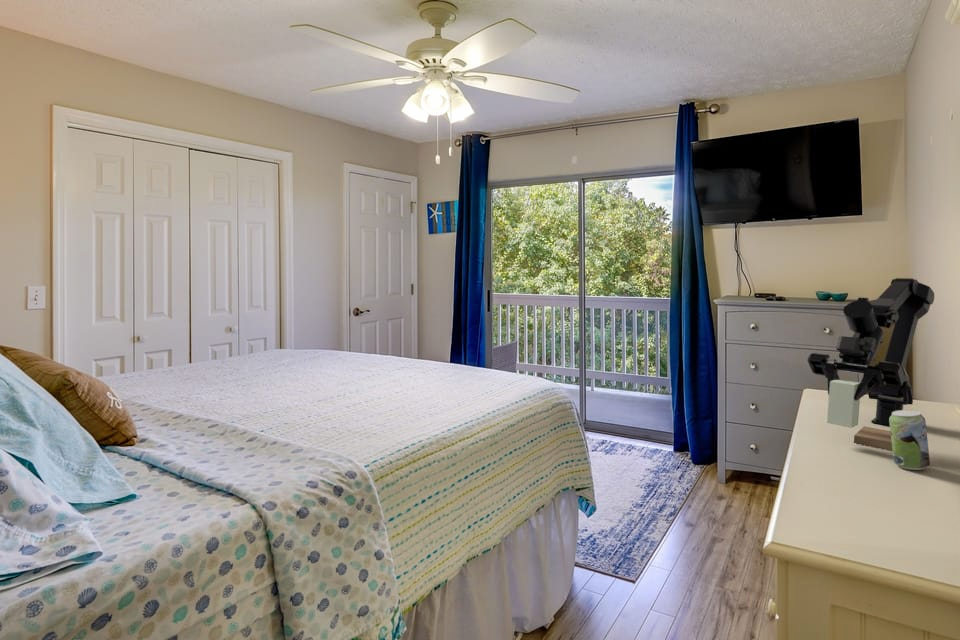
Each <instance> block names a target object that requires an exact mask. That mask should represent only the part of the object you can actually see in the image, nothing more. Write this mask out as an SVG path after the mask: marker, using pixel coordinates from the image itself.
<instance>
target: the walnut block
mask: <svg viewBox="0 0 960 640" xmlns="http://www.w3.org/2000/svg"><path fill="white" fill-rule="evenodd" d="M854 443H856V444H855V445H859V444H861V445H860V446H864V445H865V446H864V447H869V446H871V447H870V448H876V449H879V448H881V449H880V450H884V449H886V451H889V450H891V451H890V452H893V450H892V441H891V432H890V430H886V429H880V428H876V427H875V428H874V427H869V426H865V425H864V426H862V428H860V429H859V430H858V431H857V432H856V433H854V437H853V444H854Z"/></svg>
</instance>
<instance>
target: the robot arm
mask: <svg viewBox="0 0 960 640" xmlns="http://www.w3.org/2000/svg"><path fill="white" fill-rule="evenodd" d="M934 301H935V292H934V290H933V289H932V288H931V287H930V286H929V285H926V284H924V283H922V282H919V281H918V280H917V279H916V278H910V277H896V278H893V279H892V280H891V282H890V285H889V286H888V287H887V288H886V289H885V290H884V291H883V292H882V293H881V295H879V296H878V297H877V298H876V299H873V300H872V299H871V300H869V298H868V297H858V298H857V299H856V300H853V301H852V302H849V303H848V304H846V305H845V306H844V307H843V309H842V311H843V312H842V313H843V314H844V316H845V317H844V318H845V320H846V321H847V322H846V323H847V324H848V327H849V330H850V331H852V332H853V334H852V336H844V335H840V336H838V340H837V344H836V348H835V349H836V350H837V351H838V352H839V354H838V357H839V359H841V361H840V360H837V359H835V358H830V355H829V354H826V353H819V352H812V353H810V354H809V355H808V358H807V363H808V365H809V367H810V369H811V372H812V373H813V374H814V375H818V376H819V375H820V376H824V378H826V379H827V394H828V396H829V388H830V381H833V380H836V379H839V380H840V375H839V371H842V372H846V373H853V374H859V375H863V376H862V378H861V380H860V382H859V383H860V384H859V386H858V388H857V390H856V393H855V396H854V400H856V401H857V400H858V399H861V398H862V397H864V396H865V395H866V394H868V399H869V400H876V406H875V407H876V409H875V417H874V418H873V419H872V420H870V422H871V423H873V424H878V425H883V426H887V427H888V426H889V427H890V423H889V418H890V416H891V415H892V412H893V411H897V410H904V405H906V406H907V405H913V404H914V392H913V390H912V389H913V388H912V386H911V383H910V377H909V375H908V373H907V370H906V365H907V361H908V358H909V354H910V351H911V347H912V343H913V340H914V335H915V332H916V330H917V329H916V328H917V325H918V321H919V320H920V319H921V318H923V317H924V316H926V314H928V312H929V311H930V307H931V306H932V305H933V304H934ZM892 327H893V330H892V332H891V337H890V339H889V343H888V347H887V351H886V353H885V358H884V360H880V361H878V363H877V364H875V365H874V366H872V364H873V362H875V361H876V360H877V356H876V354H877V351H878V349H879V346H881V345H880V344H883V343H884V338H883V337H884V335H885V334H884V333H885V332H884V331H883V329H891V328H892Z"/></svg>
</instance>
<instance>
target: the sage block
mask: <svg viewBox="0 0 960 640" xmlns="http://www.w3.org/2000/svg"><path fill="white" fill-rule="evenodd" d="M859 384H860V382H858V381H853V380H846V379H845V380H844V379H840V378H839V379H836V380H833V381H830V388H829V395H828V407H827V420H826V423H827V424H829V425H836V426H840V427H843V428H845V427H846V428H849V429H852V428H855V427H857V426H858V425H859V416H860V405H861V404H860V403H861V400H860V399H861V398H860V399H858V400H857V401H856V400H854V396H855V393H856V390H857V388H858V386H859Z"/></svg>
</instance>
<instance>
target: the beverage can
mask: <svg viewBox="0 0 960 640" xmlns="http://www.w3.org/2000/svg"><path fill="white" fill-rule="evenodd" d="M889 423H890V426H889V431H890V432H891V441H892V450H893V451H892V457H893V463H894V464H895V465H896V466H899V468H901V469H905V470H911V471H913V470H914V471H919V470H924V469H926V468H927V467H929V466H930V465H931V460H930V451H929V443H928V433H927V432H928V431H927V424H926V423H927V422H926V419H925V417H924V416H923V415H922V412H921V411H918V410H913V409H903V410H897V411H893V412H892V415H891V416H890V418H889Z"/></svg>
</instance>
